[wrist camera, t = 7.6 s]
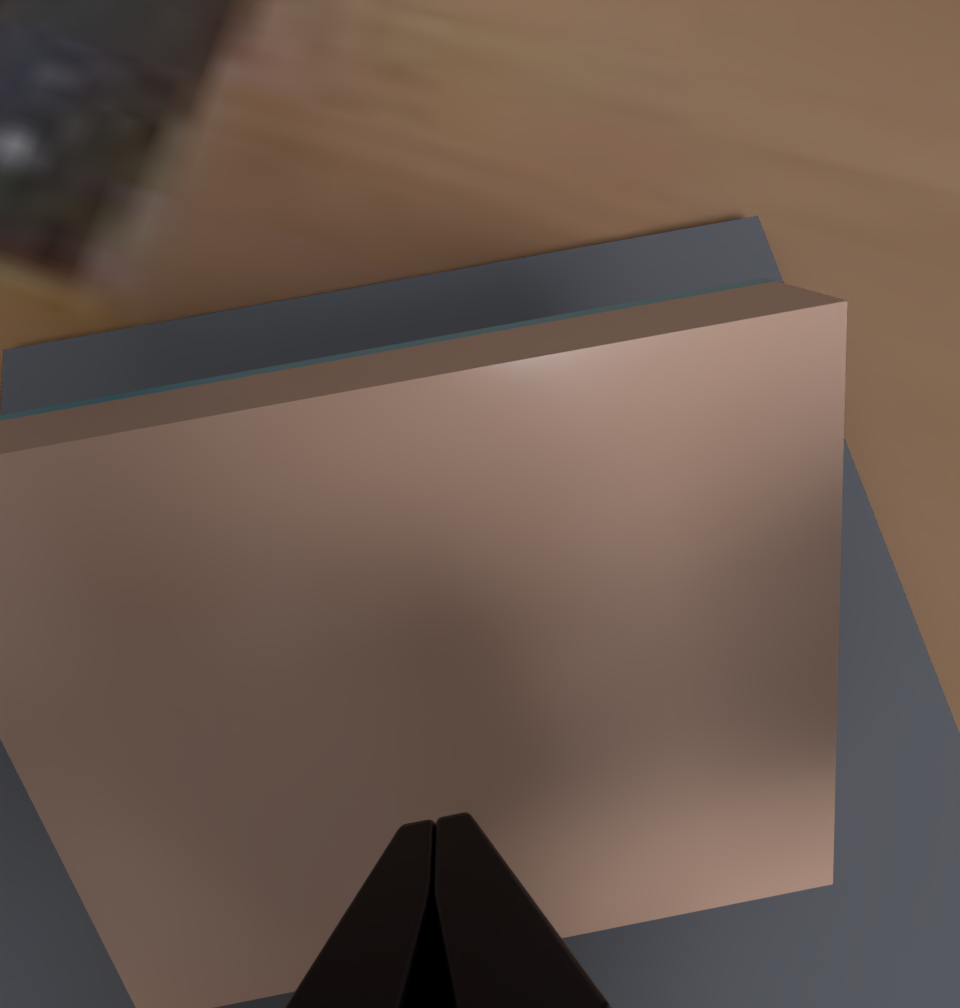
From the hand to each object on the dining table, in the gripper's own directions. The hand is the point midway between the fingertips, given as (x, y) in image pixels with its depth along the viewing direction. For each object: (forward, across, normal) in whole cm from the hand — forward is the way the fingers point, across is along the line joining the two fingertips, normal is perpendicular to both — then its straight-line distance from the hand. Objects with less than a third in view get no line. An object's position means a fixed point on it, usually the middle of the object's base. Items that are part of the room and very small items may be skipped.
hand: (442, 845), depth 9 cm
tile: (+4, 0, -5) cm, 6 cm away
